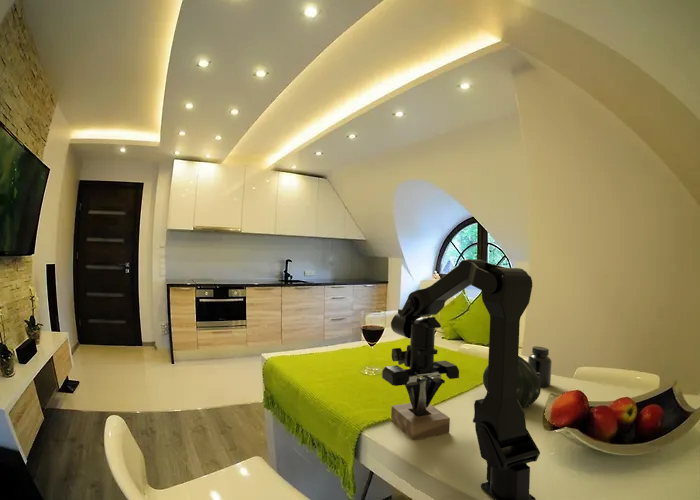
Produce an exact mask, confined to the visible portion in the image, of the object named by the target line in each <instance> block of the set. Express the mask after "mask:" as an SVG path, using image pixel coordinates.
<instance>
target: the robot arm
mask: <svg viewBox="0 0 700 500" xmlns="http://www.w3.org/2000/svg"><path fill="white" fill-rule="evenodd" d="M469 286H472V287H475V288H476V289H479V290H480V291H481V299H482V300H481V301H482V303H483V306H484V307H485V309H486V310H487V312H488V314H489V333H488V334H489V337H488V339H489V341H488V365H487V366H488V384H487V390H486V394H485V395H484V396H485V397H484V398H481V399H475V400H474V404H473V409H474V410H473V411H474V414H473V419H472V423H474V424H475V425H474V428H475V434H476V437H477V443H478V448H479V453H480V457H481V458H482V459H483V460H484V461H485V462H486V466H487V467H486V481H485V482H482V483H480V488H481V489H483V491H485V492H486V493H487V494H488V495H489V496H490V497H491V498H493V499H494V500H536V497H535V496H533V495H532V494H531V493H530V480H531V467H530V466H529V465H528V464H529V463H532V462H537V461H538V460H539V457H540V454H541V451H540V449H539V447H538V446H537V444H536V442H535V441H534V439H533V437H532V436H531V434H530V432H529V430H528V429H527V423H526V413H525V411H524V408H522V407H521V405H520V403H519V402H518V400H517V378H518V356H519V349H520V346H519V345H520V326H521V325H520V324H521V322H520V321H521V317H522V316H523V314H524V313H525V311H526V309H527V307H528V306H529V304H530V301H531V296H532V291H533V290H532V289H533V279H532V276H530V275H529V273H528V272H527V271H526V270H524V269H523V268H519V267H505V266H501V265H497V264H493V263H490V262H488V261H486V260H483V259H479V258H478V259H472V258H465V259H463V260H461V261H460V262H459V263H458V265H457V266H455V267H454V268H453V269H452V270H450V271H449V272H448V273H445V274H444V275H443V276H442V277H440V278H439V279H438V280H436V281H435V282H434V283H432V284H431V285H430V286H426V287H424V288H419V289H416V290H414V291H412V292H410V293H409V294H408V296H407V298H406V299H407V300H406V302H405V303H404V305H403V307H402V308H398V309H397V313H396V314H394V316H393V318H392V319H391V322H390V328H391V330H392V332H394V333H395V334H396V335H400V336H402V337H404V338H406V339H410V344H408V345H406V350H402V348H401V347H395V348H391V361H392V362H397V364H398V365H397V364H396V365H389V366H388V365H387V366H384V368H383V369H382V370H381V371H382V373H381V374H382V375H381V378H382V379H383V380H384V381H386V382H388V384H390V385H391V386H394V387H397V386H398V387H400V386H405V389H406V391H407V394H408V398H409V402H410V403H411V405H412V408H413V409H416V408H417V404H418V397H419V390H420V384H419V383H417V377H425V378H427V402H426V408H427V407H428V406H429V404H431V402H432V400H433V399H434V397H435V395H436V393H437V392H438V390H439V389H440V388H441V387H442V385H443V384H445V383H446V381H445V379H443V378H442V375H443V374H445V376H446V377H447V378H448V379H449V380H454V379H455V380H456V379H459V378H460V369H459V367H458V366H457V365H456V364H454V363H452V362H449V361H448V360H436V361H434V360H435V355H438V352H439V351H438V349H436V348H435V337H436V336H435V335H436V329H440V328H441V327H442V325H441V322H439V321H438V320H437V319H436V315H438V314H439V313H440V312H441V310H443V309H444V308H445V305H446V304H445V303H446V302H447V301H448V300H449V299H451V298H452V297H454V296H456V295H457V294H459V293H460V292H462V291H463V290H465V289H466V288H468V287H469ZM401 365H402V366H403V365H404V366H405V367H406V368H407V369H405V368H402V367H401ZM408 368H409V369H408Z"/></svg>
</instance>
